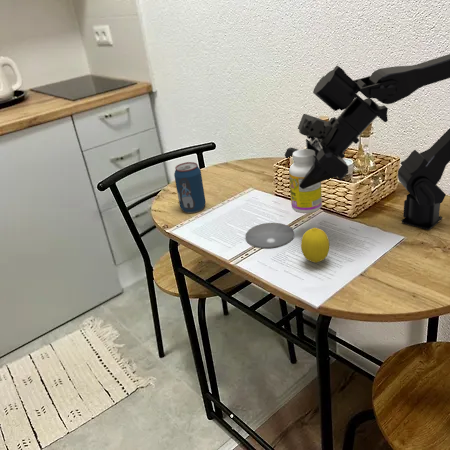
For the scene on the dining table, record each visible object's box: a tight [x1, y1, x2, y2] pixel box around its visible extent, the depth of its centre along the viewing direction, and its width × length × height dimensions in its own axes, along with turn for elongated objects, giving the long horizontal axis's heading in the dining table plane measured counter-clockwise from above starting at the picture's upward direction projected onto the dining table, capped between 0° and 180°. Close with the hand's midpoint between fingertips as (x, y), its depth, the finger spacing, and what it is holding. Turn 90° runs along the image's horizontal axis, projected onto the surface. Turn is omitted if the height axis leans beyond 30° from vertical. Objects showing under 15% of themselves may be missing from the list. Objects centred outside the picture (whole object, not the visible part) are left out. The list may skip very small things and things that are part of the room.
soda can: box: [173, 161, 206, 214], centre depth 123 cm, size 7×7×12 cm
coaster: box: [245, 222, 295, 249], centre depth 107 cm, size 11×11×1 cm
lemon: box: [300, 227, 330, 264], centre depth 94 cm, size 6×6×8 cm
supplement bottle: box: [289, 148, 323, 214], centre depth 101 cm, size 7×7×13 cm
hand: (298, 181), depth 101 cm, fingers closed on supplement bottle, 7 cm apart
